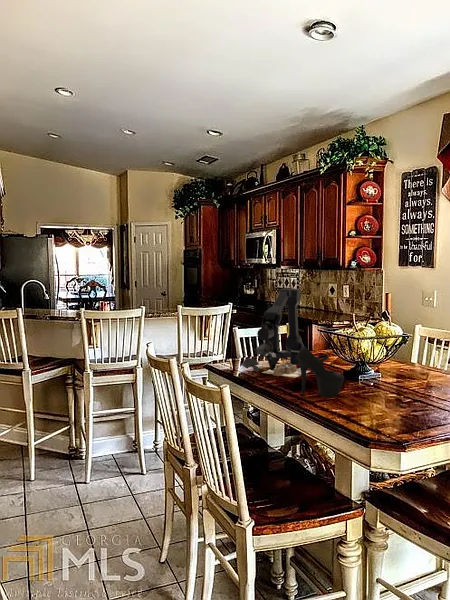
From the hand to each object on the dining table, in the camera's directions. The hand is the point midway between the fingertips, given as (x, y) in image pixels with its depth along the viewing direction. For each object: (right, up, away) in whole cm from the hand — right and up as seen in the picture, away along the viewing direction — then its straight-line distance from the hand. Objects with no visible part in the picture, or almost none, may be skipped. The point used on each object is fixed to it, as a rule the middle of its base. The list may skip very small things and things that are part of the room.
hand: (272, 370), depth 237 cm
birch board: (+7, -2, +3) cm, 8 cm away
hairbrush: (-8, -2, +16) cm, 18 cm away
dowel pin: (+12, -2, -3) cm, 13 cm away
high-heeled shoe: (+16, -6, -33) cm, 37 cm away
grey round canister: (+7, -2, +3) cm, 8 cm away
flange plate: (+5, -1, +1) cm, 5 cm away
